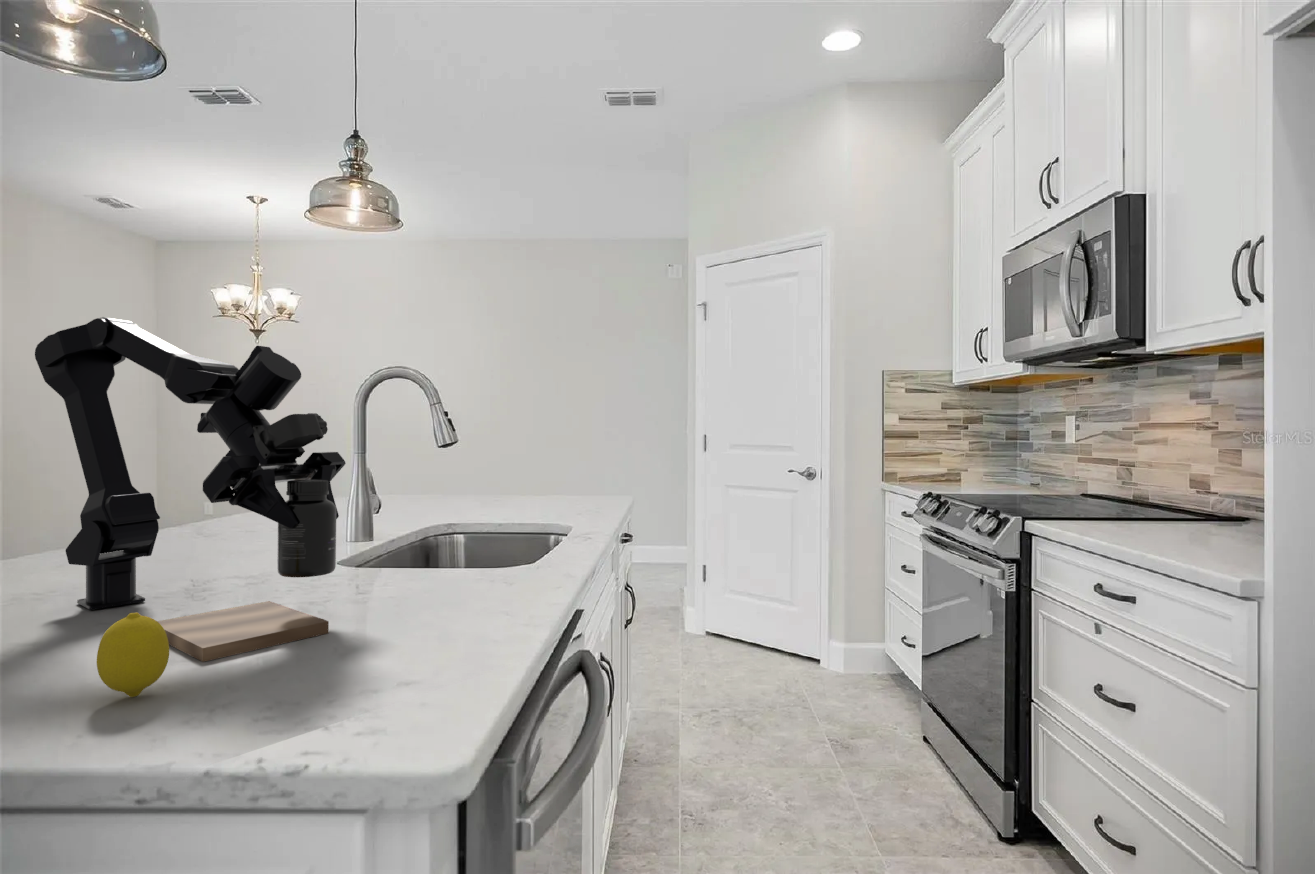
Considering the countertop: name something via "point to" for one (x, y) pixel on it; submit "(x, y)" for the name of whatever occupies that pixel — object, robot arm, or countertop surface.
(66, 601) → the countertop surface
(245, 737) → the countertop surface
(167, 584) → the countertop surface
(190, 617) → the walnut board
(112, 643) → the lemon
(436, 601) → the countertop surface
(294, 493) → the supplement bottle
